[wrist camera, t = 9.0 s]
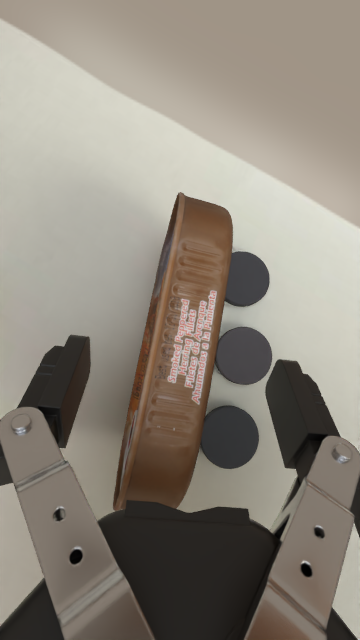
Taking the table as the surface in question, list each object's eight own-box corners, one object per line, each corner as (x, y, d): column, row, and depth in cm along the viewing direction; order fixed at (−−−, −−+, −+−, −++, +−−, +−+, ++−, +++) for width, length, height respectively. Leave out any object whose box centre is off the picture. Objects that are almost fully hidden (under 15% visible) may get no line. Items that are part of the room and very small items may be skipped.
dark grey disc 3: (257, 408, 20) (261, 409, 19) (253, 468, 19) (256, 471, 19) (201, 402, 20) (203, 403, 19) (196, 463, 19) (197, 466, 18)
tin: (165, 233, 21) (176, 147, 13) (210, 244, 21) (251, 165, 13) (115, 469, 18) (88, 554, 10) (167, 478, 19) (183, 568, 10)
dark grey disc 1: (268, 258, 21) (271, 255, 21) (264, 309, 21) (268, 308, 20) (216, 250, 21) (218, 247, 20) (211, 302, 21) (213, 301, 20)
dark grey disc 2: (270, 331, 21) (274, 330, 20) (266, 386, 20) (270, 387, 20) (217, 324, 20) (219, 323, 20) (211, 380, 20) (213, 381, 19)
